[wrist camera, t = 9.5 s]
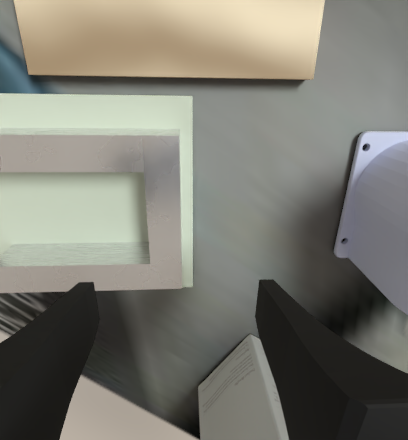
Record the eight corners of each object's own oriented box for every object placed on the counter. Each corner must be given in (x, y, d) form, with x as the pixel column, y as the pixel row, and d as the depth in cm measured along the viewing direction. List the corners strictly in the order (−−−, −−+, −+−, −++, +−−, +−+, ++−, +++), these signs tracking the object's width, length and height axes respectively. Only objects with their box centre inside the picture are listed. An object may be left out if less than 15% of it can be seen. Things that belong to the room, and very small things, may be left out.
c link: (182, 264, 23) (181, 288, 20) (20, 267, 22) (-4, 293, 19) (179, 128, 19) (179, 135, 16) (-19, 127, 18) (-56, 134, 15)
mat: (192, 283, 24) (192, 286, 24) (12, 288, 23) (10, 291, 23) (192, 95, 18) (192, 95, 18) (-46, 92, 18) (-51, 92, 17)
